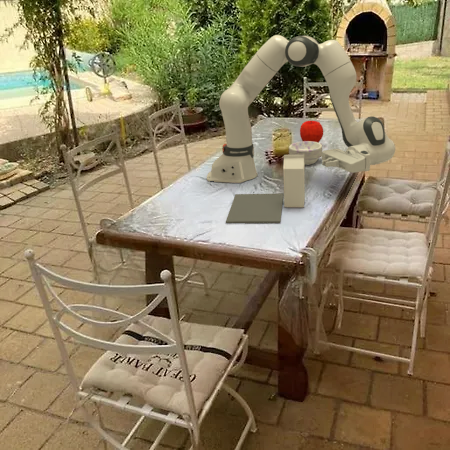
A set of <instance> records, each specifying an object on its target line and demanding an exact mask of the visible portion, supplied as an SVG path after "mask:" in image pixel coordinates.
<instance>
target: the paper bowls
mask: <svg viewBox="0 0 450 450" xmlns="http://www.w3.org/2000/svg"><path fill="white" fill-rule="evenodd" d="M322 151H323V144H321V143H320V142H319V143H318V142H312V141H297V142H293V143H291V144H290V145H289V146H288V155H304V162H305V165H306V166H308V165H312V164H316V162H317V161H318V159H320V158H322Z"/></svg>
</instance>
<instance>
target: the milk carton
mask: <svg viewBox="0 0 450 450" xmlns="http://www.w3.org/2000/svg"><path fill="white" fill-rule="evenodd" d="M282 168H283V169H282V170H283V193H284V196H283V204H284V205H283V207H284V208H305V202H306V201H305V200H306V199H305V198H306V197H305V196H306V195H305V194H306V191H305V190H306V189H305V187H306V186H305V184H306V182H305V171H306V170H305V162H304V155H289V154H284V155H283V167H282Z"/></svg>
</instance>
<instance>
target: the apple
mask: <svg viewBox="0 0 450 450" xmlns="http://www.w3.org/2000/svg"><path fill="white" fill-rule="evenodd" d="M299 135H300V139H301V142H303V141H312V142H318V143H320V141H321V140H322V139H323V136H324V127H323V125H322V124H321V122H319V121H316V120H306V121H304V122H303V123H302V124H301V126H300V127H299Z"/></svg>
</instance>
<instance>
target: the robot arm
mask: <svg viewBox="0 0 450 450" xmlns="http://www.w3.org/2000/svg"><path fill="white" fill-rule="evenodd" d="M286 63H289V64H290V65H292V66H294V67H299V68H300V67H303V68H304V67H308V66H311V65H316V66H317V67H318V68H319V69H320V71H321V73H322V76H323V77H324V79H325V82H326V83H327V87H328V90H329V91H328V92H329V98H330V102H331V104H332V105H331V106H332V108H333V110H334V113H335V116H336V117H337V120H338V123H339V126H340V128H341V136H342V140H343V143H344V144H345V146H346V147H347V148H346V149H345V150H343V149H340V148H332V149H326V150H322V156H321V160H322V161H321V165H322V166H323V167H325V168H329V167H332V168H333V167H335V168H339V169H341V170H344V171H345V172H347V173H352V174H355V173H362V172H369V171H370V170H371V166H375V165H379V164H382V163H386V162H388V161H390V160H391V159H393V157H394V156H395V153H396V146H395V143H394V141H393V140H392V139H391V138H389V136H388V135H387V133H386V131H385V126H384V123H383V121H382V120H381V119H380V118H378V117H376V116H374V115H373V116H372V115H371V116H368V117H366V118H363V119H361V120H359V121H357V120H356V118H355V116H354V113H353V110H352V106H351V105H350V99H349V97H350V94H351V92H352V90H353V88H354V87H355V85H356V83H357V72H356V69H355V66H354V64H353V62H352V61H351V59H350V57H349V55H348V53H347V51H346V50H345V49H344V47H343V46H342V45H341V44H340V43H339V41H338V40H336V39H329V40H326V41H324V42H322V43H319V41H318V40H317V39H315V38H314V37H311V36H309V35H298V36H297V35H296V36H295V37H292V38H291V39H289V40H288V39H287V38H286V37H285V36H282V35H280V34H275V35H273V36H271V37H270V38H269V39H268V40H266V42H264V44H262V46H261V47H260V48H259V49H258V50H257V51H256V53H255V54H254V55H253V56H252V57H251V59H250V60H249V61H248V62H247V64H246V65H245V66H244V68H243V69H242V70H241V72H240V74H239V75H238V76H237V78H236V79H235V80H234V82H233V83H232V84H231V85H230V86H229V87H228V88H227V89H225V90H224V91H223V92H222V94H221V95H220V97H219V105H218V106H219V109H220V111H221V115H222V119H223V123H224V128H225V139H226V143H223V144H222V154H220V156H218V157H217V158H216V159H215V160H214V161H213V163H212V164H211V170H210V171H209V172H208V173H207V175H206V180H207V182H210V181H214V182H213V183H230V184H231V183H233V184H234V183H235V184H242V183H244V182H246V181H249V180H250V181H251V180H253V179H255V178H257V177H258V172H257V168H256V163H255V159H254V158H255V147H254V142H253V135H252V134H253V133H252V130H253V129H252V124H251V120H250V116H249V107H250V105H251V104H252V103H253V101H254V100H255V99H256V98H257V96H259V94H260V93H261V92H262V90H263V89H264V88H265V87H266V86H267V85H268V84H269V82H270V81H271V80H272V79H273V77H274V76H275V75H276V74H277V73H278V72H279V70H281V68H282V67H283V66H284V65H285V64H286Z"/></svg>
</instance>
